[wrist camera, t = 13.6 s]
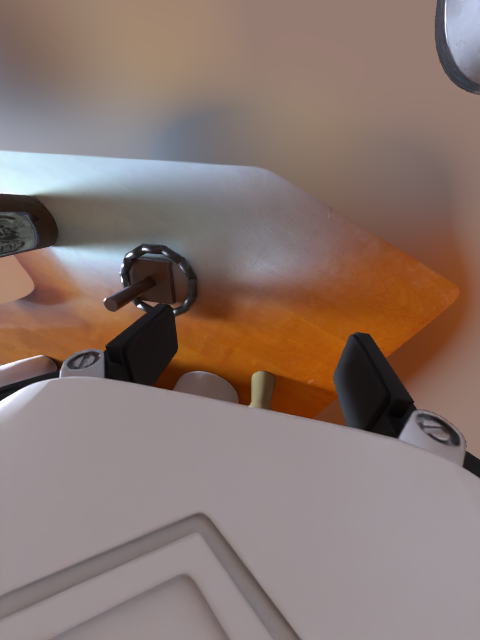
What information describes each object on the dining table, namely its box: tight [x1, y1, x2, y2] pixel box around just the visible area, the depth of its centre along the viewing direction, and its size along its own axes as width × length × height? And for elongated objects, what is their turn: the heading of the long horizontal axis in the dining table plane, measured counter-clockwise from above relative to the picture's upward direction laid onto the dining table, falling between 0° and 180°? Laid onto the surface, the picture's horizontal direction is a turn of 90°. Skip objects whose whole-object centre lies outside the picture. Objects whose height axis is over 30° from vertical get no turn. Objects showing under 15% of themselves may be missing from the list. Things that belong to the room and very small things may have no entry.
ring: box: [120, 244, 197, 317], centre depth 41 cm, size 15×15×2 cm
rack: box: [104, 257, 176, 312], centre depth 37 cm, size 9×9×12 cm
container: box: [173, 371, 239, 404], centre depth 51 cm, size 19×19×15 cm
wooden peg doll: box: [249, 371, 275, 411], centre depth 46 cm, size 6×6×11 cm
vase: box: [0, 355, 57, 387], centre depth 54 cm, size 14×14×25 cm
